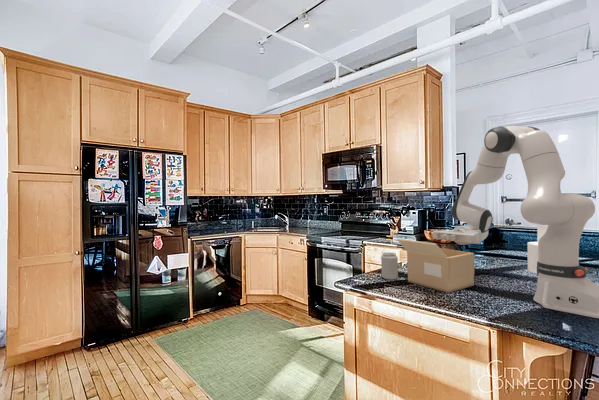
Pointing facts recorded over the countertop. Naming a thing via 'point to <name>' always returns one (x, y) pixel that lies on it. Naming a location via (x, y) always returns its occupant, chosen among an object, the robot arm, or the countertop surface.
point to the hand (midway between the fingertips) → (444, 237)
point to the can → (389, 266)
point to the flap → (422, 247)
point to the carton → (441, 270)
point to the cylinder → (535, 249)
